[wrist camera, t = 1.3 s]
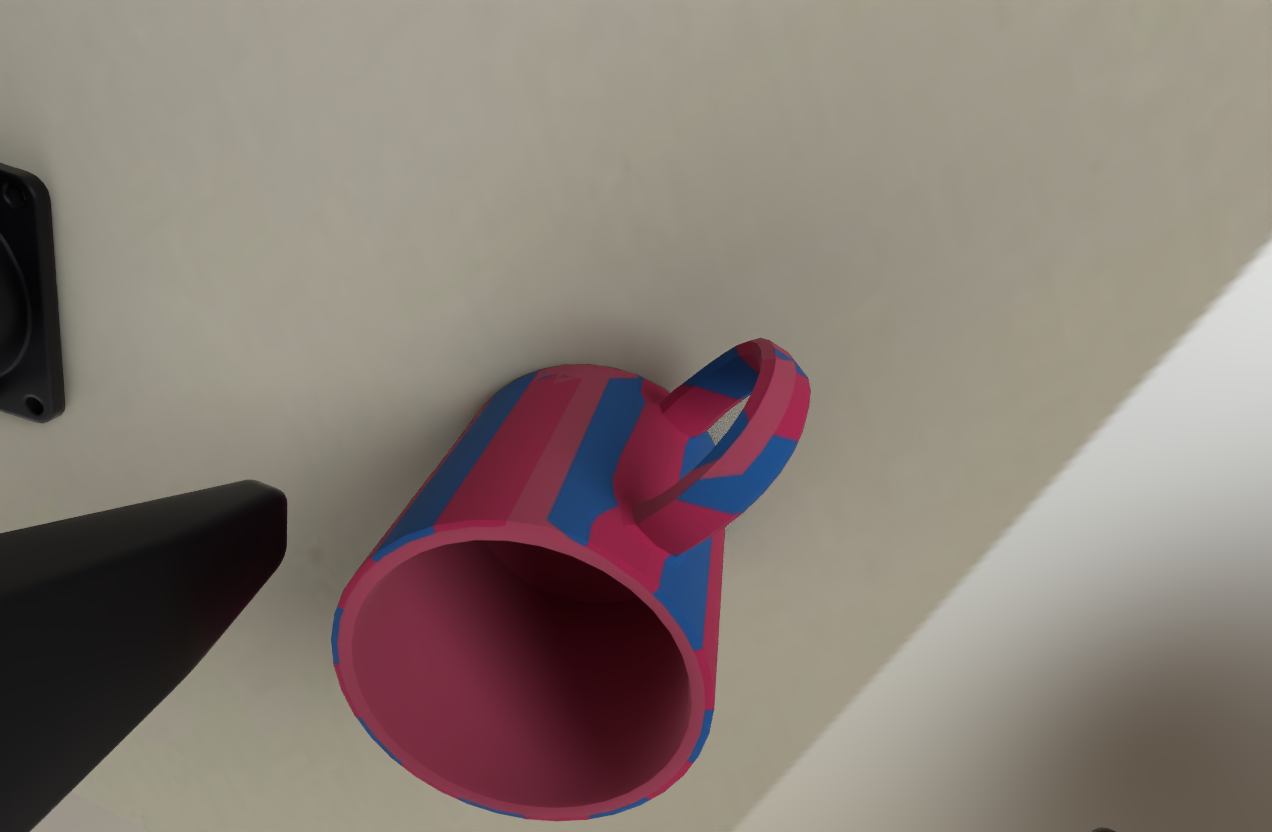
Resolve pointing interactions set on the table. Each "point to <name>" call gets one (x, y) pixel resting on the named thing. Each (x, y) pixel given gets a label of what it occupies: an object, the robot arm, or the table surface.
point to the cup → (566, 586)
